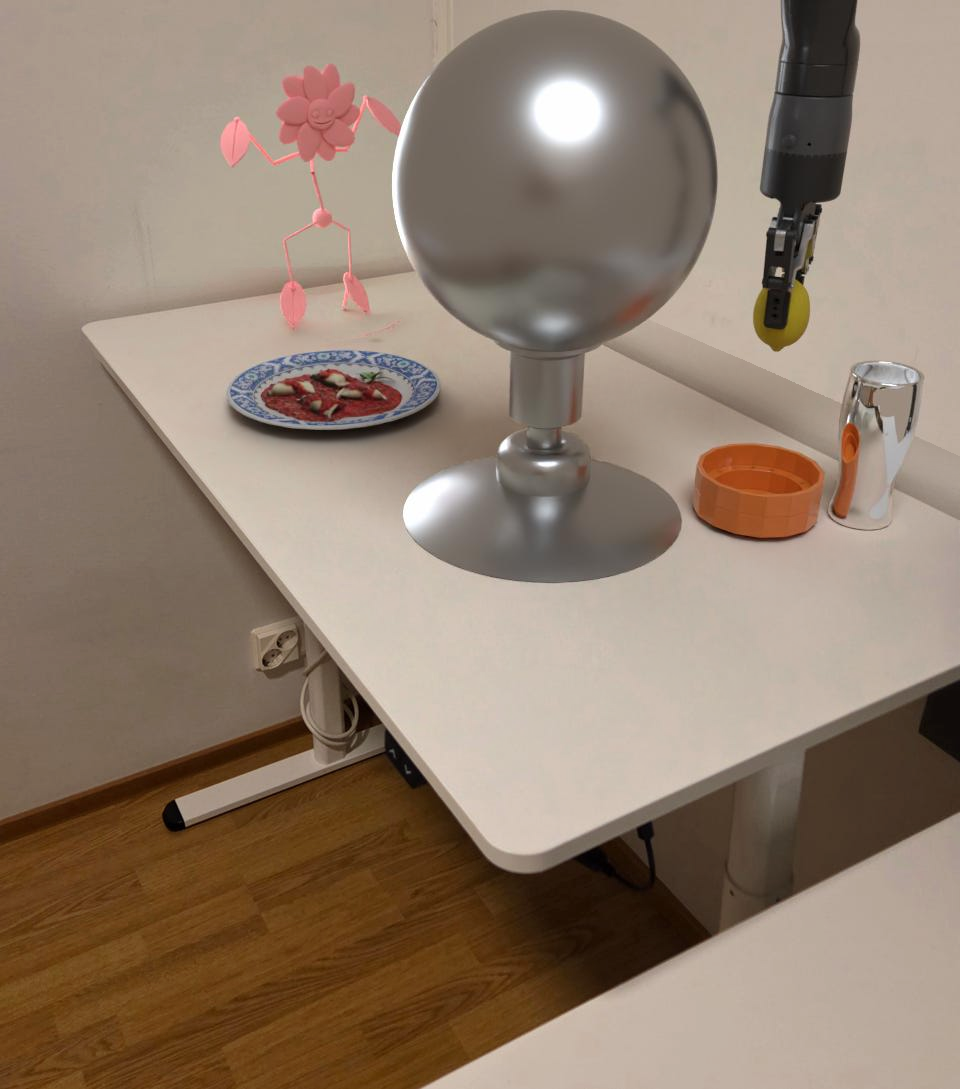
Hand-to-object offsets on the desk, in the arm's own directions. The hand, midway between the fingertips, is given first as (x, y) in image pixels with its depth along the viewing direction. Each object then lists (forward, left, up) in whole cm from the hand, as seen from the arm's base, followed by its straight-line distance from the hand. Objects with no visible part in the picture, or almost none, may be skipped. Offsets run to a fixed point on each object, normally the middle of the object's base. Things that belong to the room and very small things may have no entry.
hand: (781, 318), depth 112 cm
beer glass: (-6, +12, -16) cm, 22 cm away
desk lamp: (+25, +9, -16) cm, 31 cm away
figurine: (+48, -51, -16) cm, 72 cm away
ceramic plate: (+47, -21, -16) cm, 54 cm away
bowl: (+4, +11, -16) cm, 20 cm away
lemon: (0, 0, -4) cm, 4 cm away
